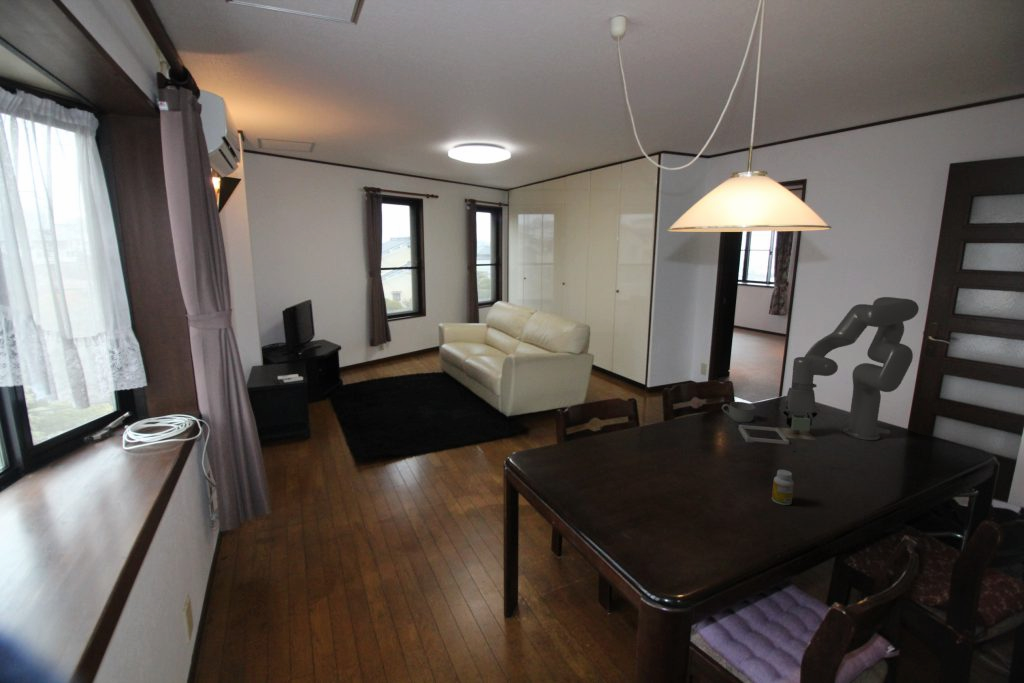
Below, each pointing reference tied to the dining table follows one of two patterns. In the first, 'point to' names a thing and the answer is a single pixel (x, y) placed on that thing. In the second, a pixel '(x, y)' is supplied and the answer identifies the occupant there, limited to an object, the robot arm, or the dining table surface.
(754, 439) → the tray
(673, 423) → the dining table surface
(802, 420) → the green hollow square block
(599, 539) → the dining table surface
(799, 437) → the wooden peg base
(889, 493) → the dining table surface
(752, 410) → the teacup
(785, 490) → the supplement bottle
